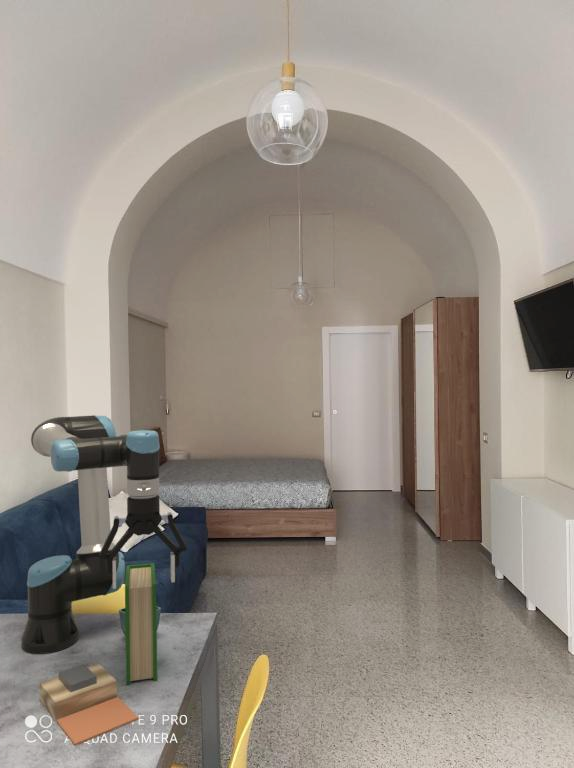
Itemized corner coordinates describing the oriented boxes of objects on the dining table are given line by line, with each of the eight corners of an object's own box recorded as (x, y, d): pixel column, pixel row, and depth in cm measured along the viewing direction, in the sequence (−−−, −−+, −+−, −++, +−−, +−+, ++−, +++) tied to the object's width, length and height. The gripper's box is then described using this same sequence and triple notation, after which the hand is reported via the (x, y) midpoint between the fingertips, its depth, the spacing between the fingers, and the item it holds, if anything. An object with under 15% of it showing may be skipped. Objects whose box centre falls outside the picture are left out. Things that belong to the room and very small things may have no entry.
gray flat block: (58, 678, 136) (58, 672, 136) (83, 670, 140) (83, 663, 140) (70, 692, 130) (70, 685, 130) (96, 683, 134) (96, 676, 134)
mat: (56, 721, 125) (56, 720, 125) (117, 698, 134) (117, 696, 134) (74, 745, 117) (74, 743, 117) (138, 719, 126) (138, 717, 126)
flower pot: (143, 630, 171) (143, 600, 171) (162, 638, 166) (161, 607, 166) (118, 641, 165) (117, 609, 165) (136, 649, 159) (136, 617, 159)
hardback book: (157, 681, 142) (155, 584, 142) (126, 685, 140) (124, 587, 140) (155, 649, 159) (154, 563, 159) (127, 653, 157) (126, 565, 157)
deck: (39, 700, 134) (39, 683, 134) (98, 679, 143) (98, 663, 143) (55, 720, 126) (55, 702, 126) (116, 697, 135) (116, 680, 135)
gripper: (87, 502, 130) (88, 595, 130) (197, 495, 137) (198, 583, 138) (89, 495, 137) (89, 583, 138) (193, 489, 145) (194, 573, 145)
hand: (144, 583), depth 138 cm, fingers open, 13 cm apart
